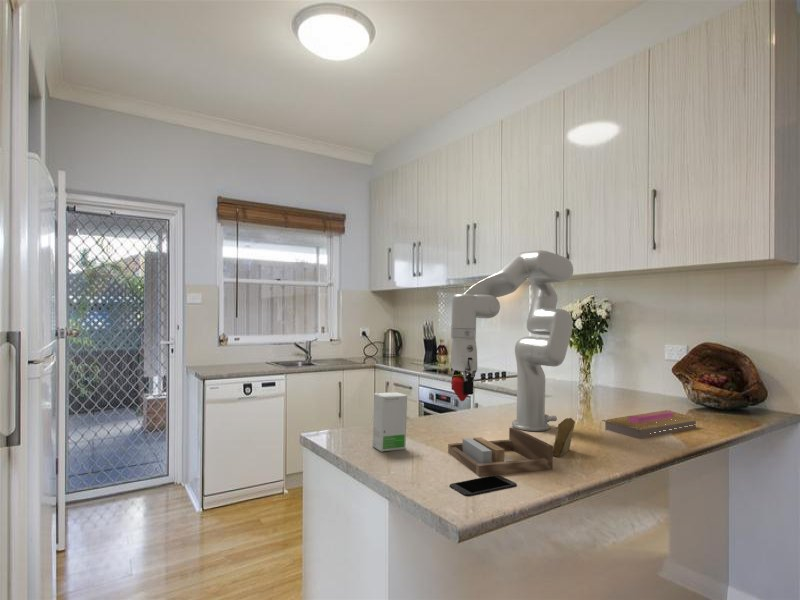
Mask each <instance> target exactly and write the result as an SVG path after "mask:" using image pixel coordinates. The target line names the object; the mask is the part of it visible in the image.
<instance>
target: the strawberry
mask: <svg viewBox="0 0 800 600" xmlns="http://www.w3.org/2000/svg"><path fill="white" fill-rule="evenodd" d="M454 376H457V377H454V378H453V379H452V378H451V390H452V389H453V390H452V391H453V392H454V394H455V395H456V397H457V398H458V399H459V400H458V401H460V402H464V401H465V400H466V399H467V397H468V396H469V395H463V381H464V376H463V372H461V374H458V375H454Z"/></svg>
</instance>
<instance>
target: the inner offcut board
mask: <svg viewBox="0 0 800 600" xmlns="http://www.w3.org/2000/svg"><path fill="white" fill-rule="evenodd" d="M472 439H473V440H475V441H477V442H478V443H480V444H481V445H483V446H485V447H486V448H488V449H490V450H491V451H492V463H493V462H505V454H506V453H505V451H506V450H504V449H502V448H501V447H499V446H497V445H495V444H493V443H491V442H489V441H490V440H487V439H485V438H484V437H482V436H480V437H473V438H472Z"/></svg>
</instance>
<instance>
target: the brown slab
mask: <svg viewBox="0 0 800 600" xmlns="http://www.w3.org/2000/svg"><path fill="white" fill-rule="evenodd" d="M671 419H672V420H671ZM675 420H676V421H675ZM697 421H700V419H699V418H696V417H693V416H689V415H685V414H683V413H680V412H676V411H673V410H669V409H667V410H660V411H654V412H653V411H652V412H646V413H641V414H640V413H639V414H634V415H627V416H622V417H615V418H608V419H603V420H601V422H604V424H605V425H604V428H605V429H604V430H605V431H609V432H613V433H616V434H620V435H624V436H627V437H630V438H631V437H632V438H635V439H637V440H638V439H639V440H640V439H646V438H652V437H656V436H662V435H666V434H671V433H676V432H682V431H688V430H692V429H696V427H697V425H694V424H697ZM656 422H657V423H656ZM665 424H666V425H665ZM689 425H693V426H689ZM684 426H688V427H684ZM679 427H682V428H679ZM674 428H677V429H674ZM669 429H672V430H669ZM663 430H666V431H663ZM659 431H661V432H659ZM654 432H656V433H654ZM650 433H651V434H650Z"/></svg>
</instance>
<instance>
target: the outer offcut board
mask: <svg viewBox="0 0 800 600" xmlns="http://www.w3.org/2000/svg"><path fill="white" fill-rule="evenodd" d="M462 443H463V451H462V452H463V453H465V454H466V455H468V456H469V457H470V458H472V459H473V460H475V461H476V462H477V463H479V464H481V463H492V451H491V450H490V449H488V448H486V447H485V446H483V445H481V444H480V443H478V442H477V441H475V440H473V438H471V437H469V438H468V437H467V438H462Z"/></svg>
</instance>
